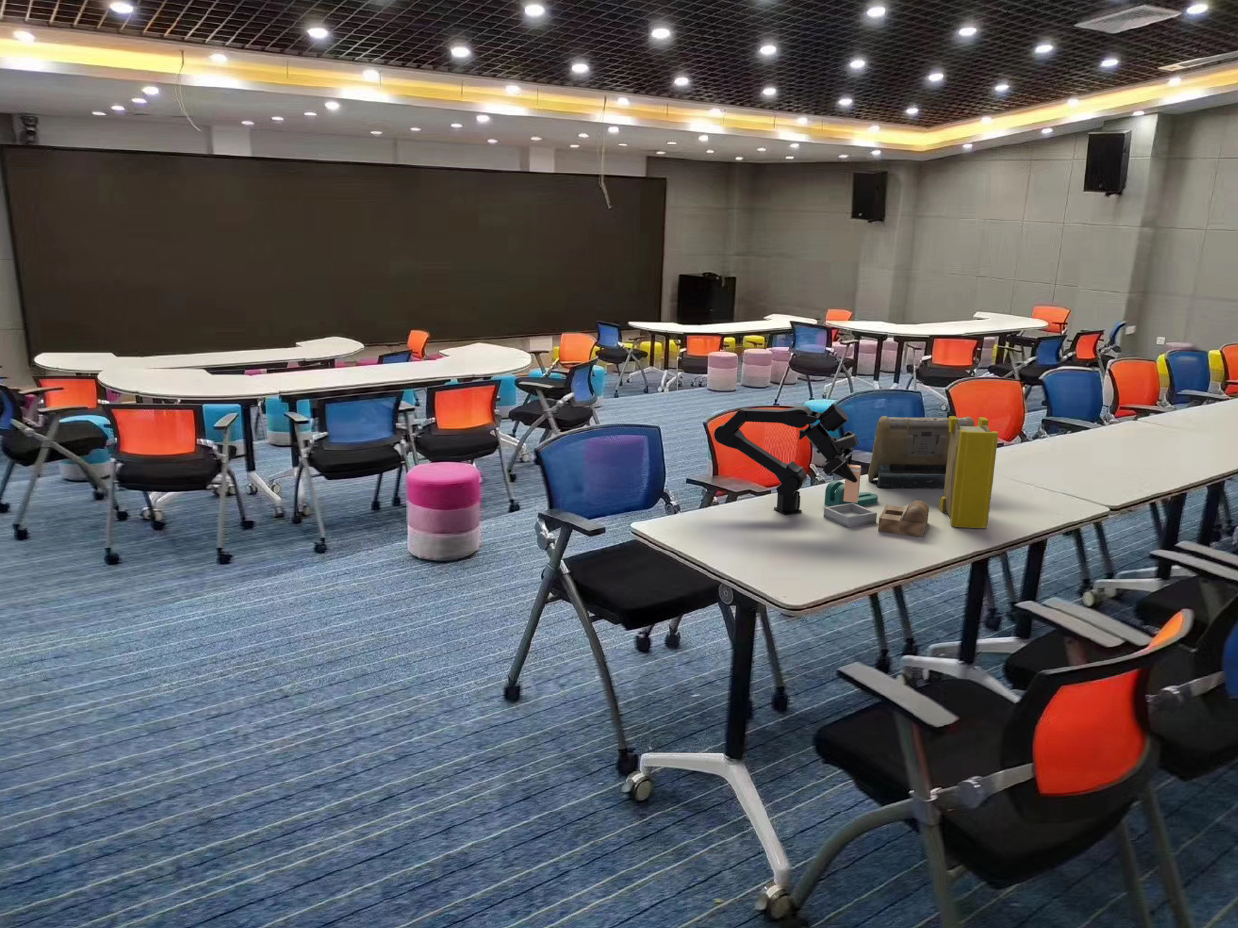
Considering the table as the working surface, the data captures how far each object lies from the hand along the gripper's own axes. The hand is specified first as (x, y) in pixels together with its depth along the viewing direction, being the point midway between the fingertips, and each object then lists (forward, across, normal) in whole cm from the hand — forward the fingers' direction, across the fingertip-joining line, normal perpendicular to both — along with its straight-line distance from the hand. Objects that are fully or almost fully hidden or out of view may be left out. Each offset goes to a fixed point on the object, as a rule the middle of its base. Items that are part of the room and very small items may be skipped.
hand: (857, 480), depth 254 cm
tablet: (+18, +49, 0) cm, 52 cm away
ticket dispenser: (+19, 0, -1) cm, 19 cm away
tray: (+8, 0, +10) cm, 13 cm away
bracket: (+7, +17, +12) cm, 21 cm away
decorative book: (+30, +16, -12) cm, 36 cm away
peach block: (+4, 0, +6) cm, 7 cm away
